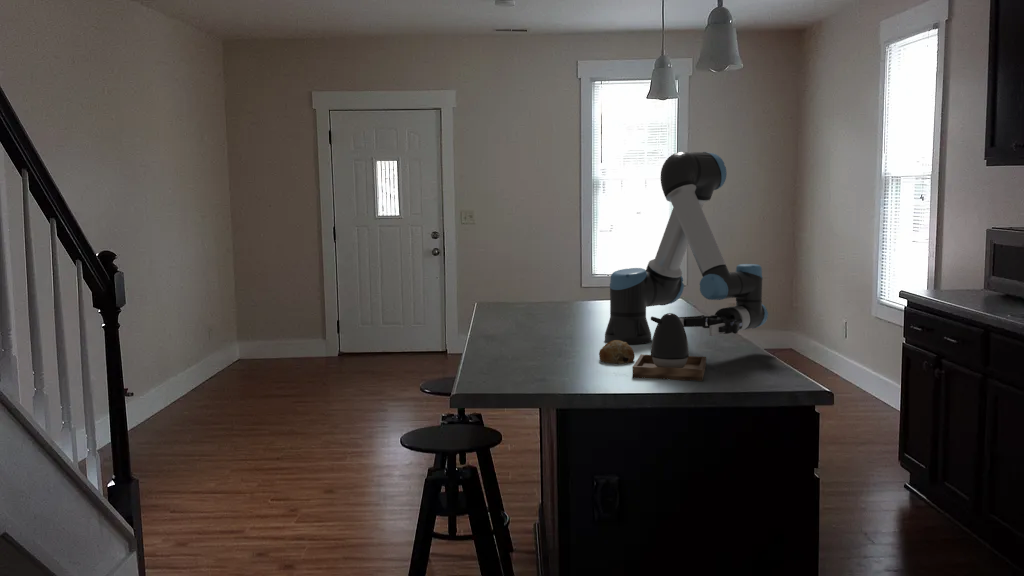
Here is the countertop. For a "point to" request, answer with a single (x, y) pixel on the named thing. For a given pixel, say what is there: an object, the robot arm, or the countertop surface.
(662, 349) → the pump dispenser
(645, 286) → the robot arm
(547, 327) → the countertop surface
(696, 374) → the walnut tray
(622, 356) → the bread roll
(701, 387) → the countertop surface
